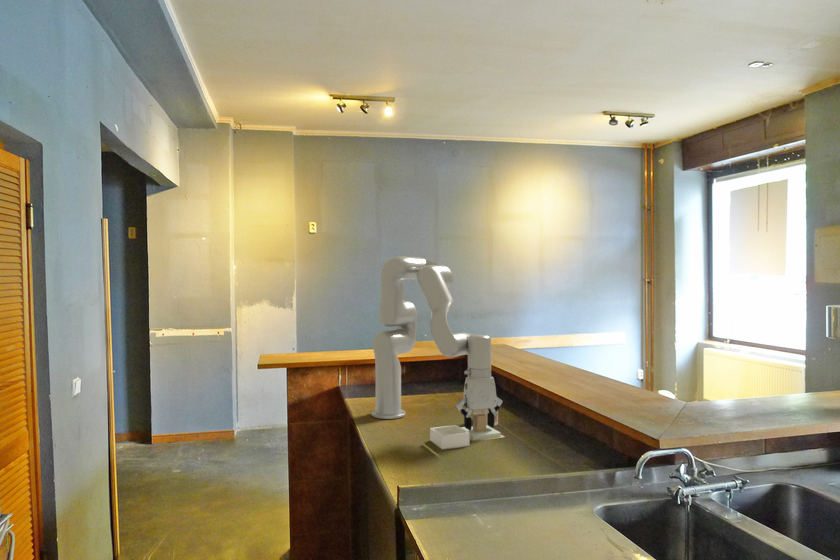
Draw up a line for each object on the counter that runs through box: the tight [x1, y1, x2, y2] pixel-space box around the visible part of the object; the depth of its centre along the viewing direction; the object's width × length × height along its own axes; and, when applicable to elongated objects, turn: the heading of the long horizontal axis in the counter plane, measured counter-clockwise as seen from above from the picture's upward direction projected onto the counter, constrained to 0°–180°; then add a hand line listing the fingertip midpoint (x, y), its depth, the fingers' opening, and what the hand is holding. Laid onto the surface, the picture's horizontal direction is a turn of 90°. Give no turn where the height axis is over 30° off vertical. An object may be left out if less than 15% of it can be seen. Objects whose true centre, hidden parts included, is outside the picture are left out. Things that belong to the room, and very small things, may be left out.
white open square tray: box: [429, 424, 470, 450], centre depth 157 cm, size 9×9×4 cm
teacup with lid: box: [472, 409, 499, 427], centre depth 181 cm, size 12×9×12 cm
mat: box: [469, 434, 505, 442], centre depth 166 cm, size 12×12×1 cm
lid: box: [461, 413, 502, 440], centre depth 166 cm, size 10×10×6 cm
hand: (479, 427), depth 166 cm, fingers open, 7 cm apart
